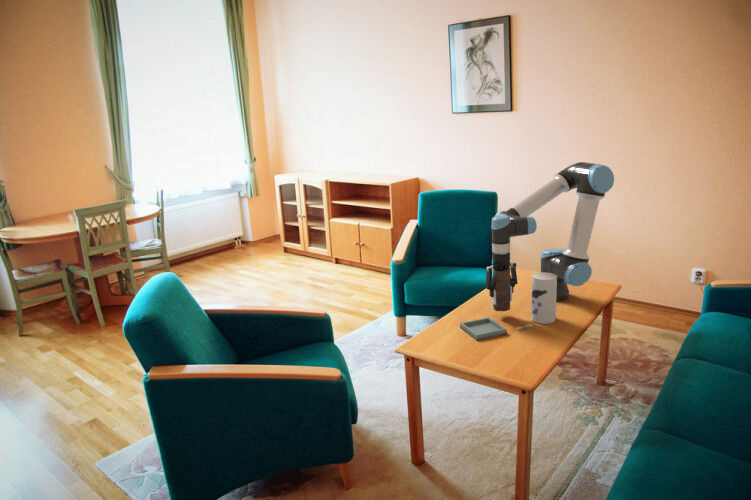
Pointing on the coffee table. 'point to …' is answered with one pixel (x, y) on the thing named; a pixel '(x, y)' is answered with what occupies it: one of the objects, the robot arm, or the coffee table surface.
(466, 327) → the dish
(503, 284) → the dark brown cylinder
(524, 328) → the beige wooden bar
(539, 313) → the container
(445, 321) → the coffee table surface
